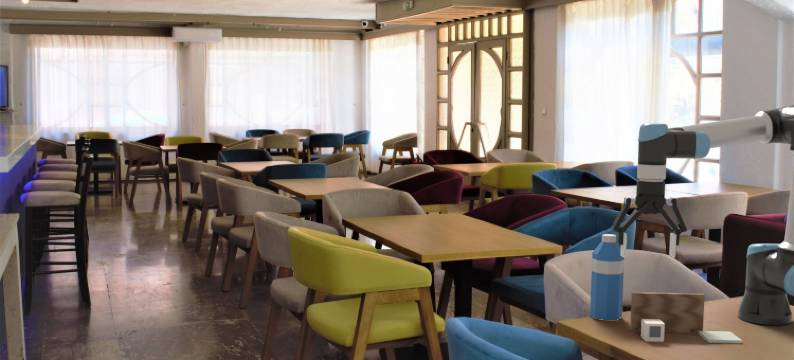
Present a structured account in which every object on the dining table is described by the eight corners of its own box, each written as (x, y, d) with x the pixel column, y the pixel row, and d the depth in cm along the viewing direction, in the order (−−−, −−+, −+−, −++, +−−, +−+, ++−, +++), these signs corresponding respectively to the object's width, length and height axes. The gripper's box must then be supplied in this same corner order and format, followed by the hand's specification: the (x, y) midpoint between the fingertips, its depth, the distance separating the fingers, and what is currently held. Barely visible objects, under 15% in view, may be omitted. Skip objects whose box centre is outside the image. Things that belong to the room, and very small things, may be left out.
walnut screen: (699, 330, 250) (701, 292, 249) (704, 334, 246) (706, 295, 245) (629, 328, 251) (630, 291, 250) (632, 332, 247) (634, 294, 246)
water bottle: (622, 322, 258) (626, 238, 256) (590, 319, 260) (593, 236, 258) (621, 314, 267) (624, 233, 265) (589, 312, 269) (592, 232, 267)
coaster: (730, 334, 246) (730, 331, 246) (741, 343, 237) (742, 340, 237) (698, 333, 247) (698, 330, 247) (708, 342, 238) (708, 339, 238)
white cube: (658, 336, 243) (659, 319, 243) (664, 342, 238) (664, 324, 237) (640, 336, 243) (641, 318, 243) (645, 341, 238) (646, 323, 238)
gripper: (691, 179, 243) (687, 254, 245) (602, 178, 242) (599, 253, 244) (701, 182, 235) (697, 259, 237) (609, 180, 234) (606, 258, 236)
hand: (647, 257), depth 241 cm, fingers open, 13 cm apart
